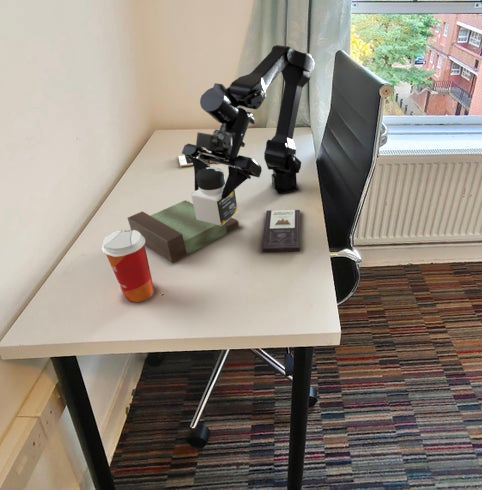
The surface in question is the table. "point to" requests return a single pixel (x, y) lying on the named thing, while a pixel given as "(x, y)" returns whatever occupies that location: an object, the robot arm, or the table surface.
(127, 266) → the paper cup
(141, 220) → the step shelf
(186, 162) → the cell phone
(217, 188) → the medicine bottle
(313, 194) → the table surface
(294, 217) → the chocolate bar
